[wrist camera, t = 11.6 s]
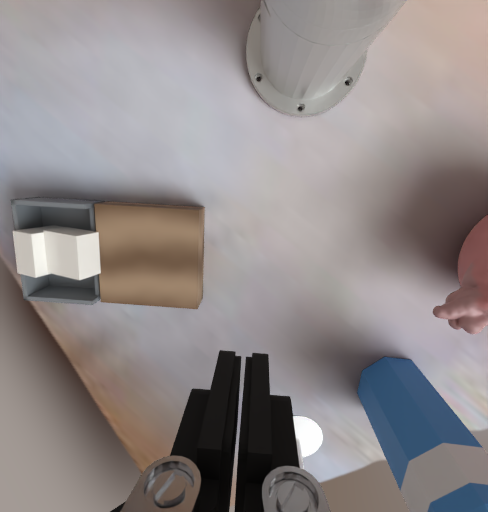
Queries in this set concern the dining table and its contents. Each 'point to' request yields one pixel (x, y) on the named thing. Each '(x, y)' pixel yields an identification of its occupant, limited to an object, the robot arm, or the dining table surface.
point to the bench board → (150, 254)
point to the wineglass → (306, 437)
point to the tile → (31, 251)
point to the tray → (63, 215)
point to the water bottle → (423, 440)
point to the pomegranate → (470, 284)
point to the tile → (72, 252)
